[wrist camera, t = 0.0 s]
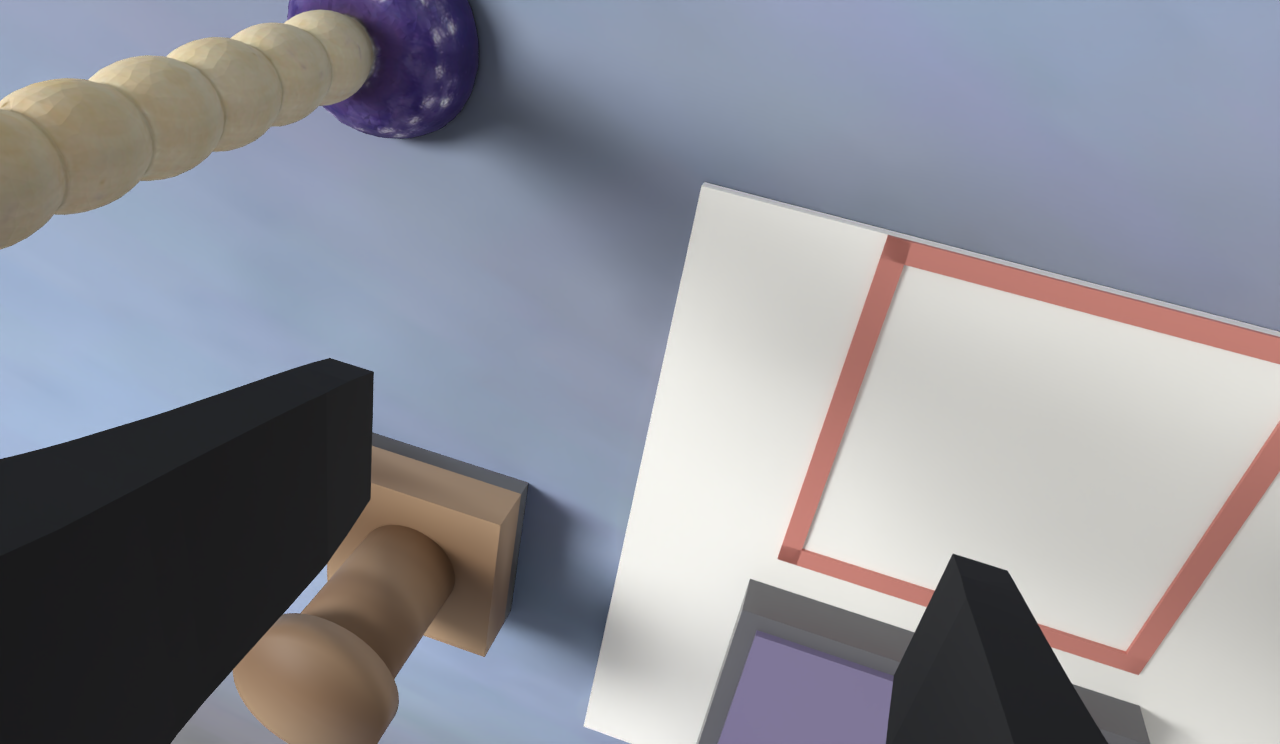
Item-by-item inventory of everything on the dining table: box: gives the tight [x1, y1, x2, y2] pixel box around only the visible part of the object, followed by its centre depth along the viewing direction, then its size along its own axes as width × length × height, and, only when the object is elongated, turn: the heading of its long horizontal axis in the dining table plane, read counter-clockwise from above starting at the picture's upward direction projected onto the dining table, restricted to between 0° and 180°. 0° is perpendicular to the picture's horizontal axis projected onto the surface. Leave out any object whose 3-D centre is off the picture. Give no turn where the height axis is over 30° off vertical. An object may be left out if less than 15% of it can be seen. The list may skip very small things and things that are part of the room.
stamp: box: [233, 433, 528, 744], centre depth 23 cm, size 5×5×7 cm
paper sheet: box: [584, 182, 1280, 744], centre depth 22 cm, size 18×17×1 cm
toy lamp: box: [0, 0, 479, 249], centre depth 12 cm, size 5×5×17 cm
